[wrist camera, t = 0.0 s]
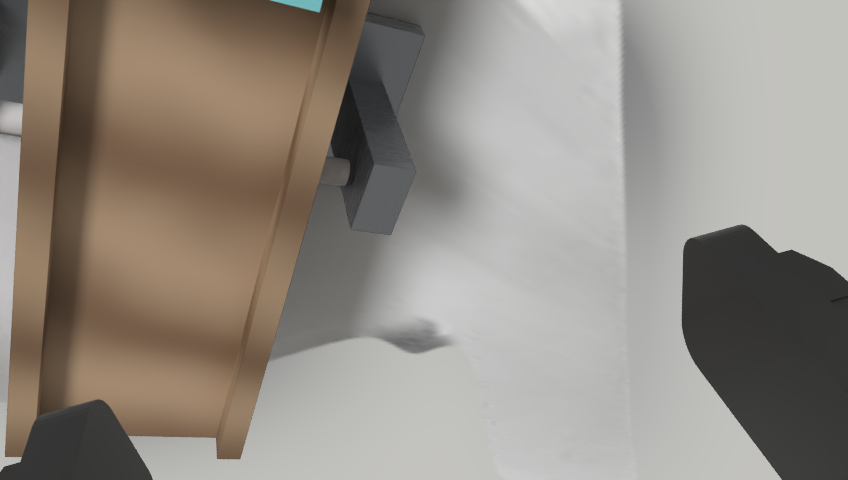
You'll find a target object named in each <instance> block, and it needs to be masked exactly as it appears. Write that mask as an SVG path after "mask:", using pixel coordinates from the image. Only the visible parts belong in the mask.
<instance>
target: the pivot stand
mask: <svg viewBox="0 0 848 480" xmlns="http://www.w3.org/2000/svg"><path fill="white" fill-rule="evenodd" d="M27 15H28V0H0V100H4V101H10V102H16V103H22V104H23V94H24V74H25V54H26V35H27ZM424 37H425V35H424V33H423V31H422V30H421V28H420V26H418V25H414V24H410V23H406V22H402V21H398V20H395V19H391V18H387V17H383V16H379V15H375V14H371V13H367V15H366V18H365V22H364V25H363V29H362V32H361V36H360V39H359V43H358V46H357V50H356V53H355V57H354V60H353V64H352V68H351V71H350V75H349V78H348V82H347V85H346V89H345V92H344V96H343V99H342V103H341V106H340V110H339V113H338V117H337V120H336V124H335V127H334V131H333V134H332V138H331V141H330V145H329V148H328V152H327V155H326V156H330V157H336V158H342V159H348V160H349V162H350V173H349V178H348V181H347V183H346V185H345V186H342V185H335V184H329V183H323V182H319V184H326V185H332V186H338V187H341V190H342V194H343V199H344V203H345V207H346V211H347V216H348V220H349V224H350V228H351V230H357V231H365V232H372V233H379V234H387V235H391V233H392V231H393V228H394V226H395V223H396V221H397V218H398V216H399V213H400V211H401V208H402V206H403V203H404V201H405V198H406V196H407V193H408V191H409V188H410V186H411V183H412V181H413V178H414V176H415V173H416V169H415V167H414V164H413V161H412V159H411V156H410V153H409V151H408V148H407V145H406V143H405V140H404V137H403V135H402V132H401V129H400V127H399V124H398V121H397V119H396V114H397V111H398V109H399V106H400V103H401V100H402V98H403V95H404V92H405V89H406V87H407V84H408V81H409V78H410V76H411V73H412V70H413V67H414V65H415V62H416V59H417V56H418V54H419V51H420V48H421V45H422V43H423V40H424ZM0 134H6V135H13V136H19V137H21V135H18V134H11V133H5V132H0Z"/></svg>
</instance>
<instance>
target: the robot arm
mask: <svg viewBox="0 0 848 480" xmlns="http://www.w3.org/2000/svg"><path fill="white" fill-rule="evenodd" d="M682 329H683V334H684V338H685V342H686V345H687V348H688V350H689V352H690V355H691V357H692V359H693V360H694V362H695V364H696V365H697V367H698V368H699V370H700V371H701V372H702V374H703V375H704V376H705V378H706V379H707V380H708V382H709V383H710V384H711V386H712V387H713V388H714V390H715V391H716V392H717V394H718V395H719V396H720V398H721V399H722V400H723V401H724V403H725V404H726V406H727V407H728V408H729V409H730V411H731V412H732V414H733V415H734V416H735V418H736V419H737V420H738V422H739V423H740V424H741V426H742V427H743V428H744V430H745V431H746V432H747V434H748V435H749V436H750V437H751V439H752V440H753V442H754V443H755V444H756V445H757V447H758V448H759V449H760V451H761V452H762V454H763V455H764V456H765V457H766V459H767V460H768V461H769V463H770V464H771V465H772V467H773V468H774V469H775V471H776V472H777V473H778V475H779V476H780V477H781V479H782V480H848V281H847V280H845V279H844V278H843V277H842V276H841V275H840V274H838V273H837V272H836V271H835V270H834V269H833V268H831V267H829V266H827V265H825V264H822V263H820V262H818V261H816V260H814V259H811V258H809V257H807V256H805V255H802V254H800V253H798V252H796V251H793V250H789V251H785V252H781V253H777V252H776V251H775V250H774V249H773V248H772V247H771V246H769V245H768V243H767V242H765V241H764V240H763V239H762V238H761V237H760V236H759V235H758V234H757V233H756V232H754V231H753V230H752V229H751V228H750V227H748V226H746V225H737V226H734V227H730V228H727V229H723V230H719V231H716V232H712V233H709V234H705V235H701V236H698V237H694V238H690V239H689V240H687V242H686V243H685V246H684V251H683V290H682ZM0 480H153V479H152V476H151V474H150V472H149V470H148V469H147V467H146V465H145V463H144V462H143V460H142V459H141V457H140V455H139V454H138V452H137V450H136V449H135V447H134V446H133V444H132V442H131V441H130V439H129V437H128V436H127V434H126V432H125V431H124V429H123V427H122V426H121V424H120V423H119V421H118V419H117V418H116V416H115V414H114V413H113V411H112V409H111V408H110V407H109V405H108V404H107V403H106V402H104V401H103V400H100V399H97V400H93V401H90V402H86V403H82V404H79V405H75V406H71V407H68V408H64V409H60V410H57V411H53V412H50V413H46V414H42V415H40V416H39V417H38V418H36V420H35V421H34V423H33V426H32V428H31V431H30V434H29V437H28V441H27V444H26V447H25V450H24V453H23V456H22V459H21V462H20V463H16V464H12V465H9V466H5V467H4V468H3V469H2V470H1V472H0Z"/></svg>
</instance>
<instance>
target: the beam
mask: <svg viewBox="0 0 848 480" xmlns="http://www.w3.org/2000/svg"><path fill="white" fill-rule="evenodd" d="M370 1H371V0H323V1H322V5H321V9H320V12H316V11H311V10H307V9H303V8H299V7H295V6H291V5H287V4H283V3H279V2H275V1H271V0H28V15H27V35H26V54H25V74H24V94H23V104H22V103H16V102H10V101H4V100H0V132H5V133H11V134H18V135H21V152H20V172H19V192H18V211H17V231H16V250H15V270H14V290H13V309H12V329H11V348H10V368H9V388H8V408H7V427H6V446H5V457H22V456H23V453H24V450H25V447H26V444H27V441H28V437H29V434H30V431H31V428H32V426H33V423H34V421H35V420H36V418H38V417H39V416H40V415H42V414H46V413H50V412H53V411H57V410H60V409H64V408H68V407H71V406H75V405H79V404H82V403H86V402H90V401H93V400H97V399H100V400H103V401H104V402H106V403H107V404H108V405H109V407H110V408H111V409H112V411H113V413H114V414H115V416H116V418H117V419H118V421H119V423H120V424H121V426H122V427H123V429H124V431H125V432H126V434H127V436H162V437H211V438H216V444H217V459H240V458H241V454H242V451H243V447H244V444H245V440H246V436H247V433H248V430H249V426H250V422H251V419H252V416H253V412H254V409H255V405H256V402H257V398H258V394H259V390H260V387H261V384H262V380H263V377H264V373H265V370H266V366H267V363H268V359H269V356H270V352H271V349H272V345H273V342H274V338H275V335H276V331H277V328H278V324H279V321H280V317H281V314H282V310H283V307H284V303H285V300H286V296H287V293H288V289H289V285H290V282H291V278H292V275H293V271H294V268H295V264H296V261H297V257H298V254H299V250H300V247H301V243H302V240H303V236H304V233H305V229H306V226H307V222H308V219H309V215H310V212H311V208H312V205H313V201H314V198H315V194H316V191H317V187H318V184H319V182H323V183H329V184H335V185H342V186H345V185H346V183H347V181H348V178H349V173H350V162H349V160H348V159H342V158H336V157H330V156H326V155H327V152H328V148H329V145H330V141H331V138H332V134H333V131H334V127H335V124H336V120H337V117H338V113H339V110H340V106H341V103H342V99H343V96H344V92H345V89H346V85H347V82H348V78H349V75H350V71H351V68H352V64H353V60H354V57H355V53H356V50H357V46H358V43H359V39H360V36H361V32H362V29H363V25H364V22H365V18H366V15H367V11H368V8H369V4H370Z"/></svg>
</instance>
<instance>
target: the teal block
mask: <svg viewBox="0 0 848 480" xmlns="http://www.w3.org/2000/svg"><path fill="white" fill-rule="evenodd" d="M271 1H275V2H279V3H283V4H287V5H291V6H295V7H299V8H303V9H307V10H311V11H316V12H320V9H321V5H322V1H323V0H271Z"/></svg>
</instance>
